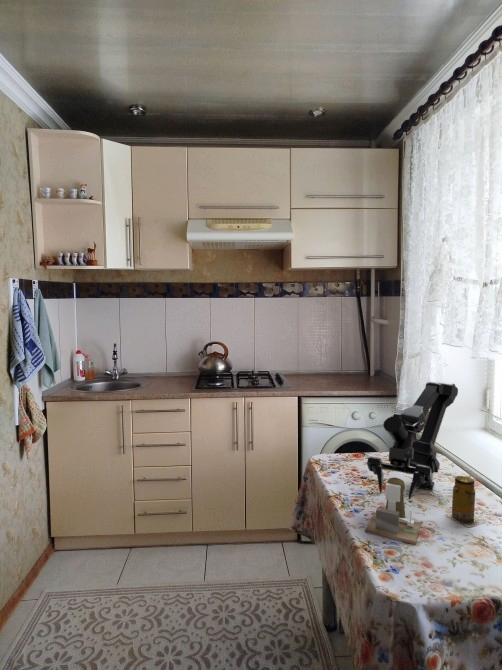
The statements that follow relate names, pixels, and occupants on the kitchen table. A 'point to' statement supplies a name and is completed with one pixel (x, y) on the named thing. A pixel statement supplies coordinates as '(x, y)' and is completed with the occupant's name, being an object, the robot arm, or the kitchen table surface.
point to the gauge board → (393, 536)
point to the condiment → (464, 502)
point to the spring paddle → (394, 498)
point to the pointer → (410, 520)
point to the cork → (400, 504)
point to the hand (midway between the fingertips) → (394, 495)
